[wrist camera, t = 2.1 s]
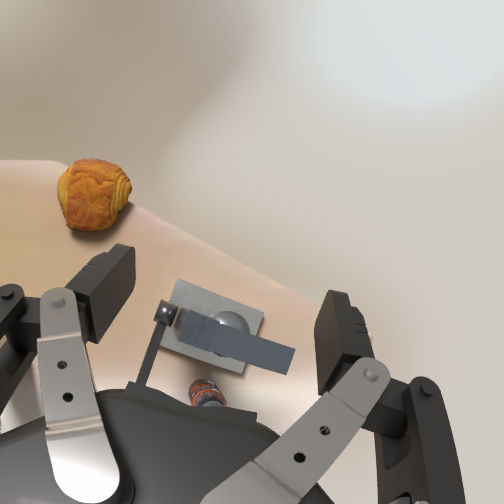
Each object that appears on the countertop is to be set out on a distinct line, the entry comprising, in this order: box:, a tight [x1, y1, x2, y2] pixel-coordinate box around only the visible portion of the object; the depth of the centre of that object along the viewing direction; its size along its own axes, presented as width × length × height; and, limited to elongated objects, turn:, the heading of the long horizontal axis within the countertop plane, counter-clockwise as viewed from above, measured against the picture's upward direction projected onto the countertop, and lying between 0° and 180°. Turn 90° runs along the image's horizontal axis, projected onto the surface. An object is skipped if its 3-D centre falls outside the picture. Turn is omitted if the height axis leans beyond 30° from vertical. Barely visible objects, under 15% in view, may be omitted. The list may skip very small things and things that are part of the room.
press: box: [160, 278, 295, 375], centre depth 46 cm, size 13×18×28 cm
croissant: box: [57, 158, 132, 231], centre depth 53 cm, size 14×16×8 cm
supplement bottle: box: [189, 379, 226, 407], centre depth 51 cm, size 6×6×11 cm
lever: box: [136, 300, 178, 386], centre depth 40 cm, size 19×4×4 cm, turn 159°
